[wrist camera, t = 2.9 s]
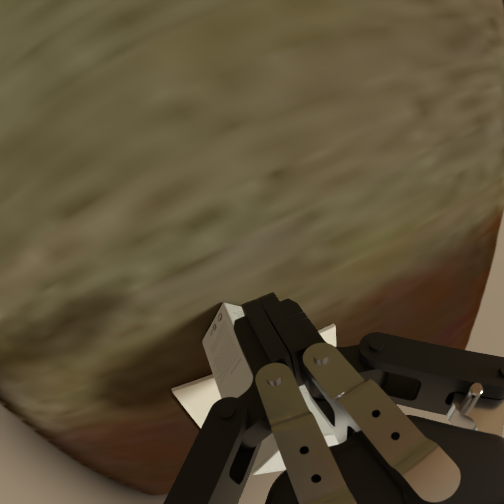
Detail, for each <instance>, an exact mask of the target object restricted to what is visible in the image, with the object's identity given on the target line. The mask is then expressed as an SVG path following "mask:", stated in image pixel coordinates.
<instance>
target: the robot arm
mask: <svg viewBox="0 0 504 504" xmlns="http://www.w3.org/2000/svg"><path fill="white" fill-rule="evenodd" d="M241 306H242V310H243V313H244V317H241V318H238V319H236V320H235V321H234V329H233V330H234V332H235V335H236V338H237V340H238V343H239V345H240V348H241V351H242V353H243V355H244V357H245V360H246V362H247V364H248V366H249V369H250V371H251V373H252V376H253V381H252V384H251V386H250V387H249V388H248V390H247V391H246V392H244V393H243V394H242V395H240V396H239V397H238V398H235V397H225V398H222V399H220V400H218V401H216V402H215V403H214V404H213V405H212V407H211V408H210V411H209V413H208V415H207V417H206V419H205V421H204V423H203V425H202V427H201V429H200V431H199V433H198V435H197V437H196V439H195V442H194V444H193V446H192V448H191V450H190V452H189V454H188V456H187V458H186V460H185V462H184V464H183V466H182V468H181V470H180V472H179V474H178V476H177V478H176V480H175V482H174V484H173V486H172V488H171V490H170V492H169V494H168V496H167V498H166V500H165V502H164V504H238V502H239V499H240V497H241V494H242V492H243V490H244V487H245V484H246V482H247V480H248V477H249V475H250V472H251V470H252V467H253V464H254V462H255V459H256V457H257V454H258V451H259V449H260V446H261V443H262V441H263V440H264V439H265V438H267V437H268V436H269V435H270V434H271V433H273V435H274V438H275V440H276V443H277V446H278V449H279V451H280V454H281V457H282V460H283V462H284V465H285V468H286V470H285V471H284V472H283V473H281V474H280V476H279V477H278V478H277V479H276V480H275V482H274V483H273V485H272V487H271V488H270V491H269V493H268V496H267V499H266V502H265V504H504V438H503V437H502V431H503V425H504V357H499V356H494V355H488V354H482V353H477V352H471V351H466V350H461V349H456V348H451V347H446V346H441V345H436V344H431V343H426V342H421V341H416V340H412V339H407V338H402V337H398V336H393V335H389V334H384V333H379V332H375V333H370V334H368V335H366V336H364V337H363V338H362V339H361V341H360V344H359V345H354V346H349V347H335V346H333V345H331V344H328V343H327V342H326V341H325V340H324V339H323V338H322V336H321V335H320V334H319V332H318V331H317V329H316V328H315V327H314V325H313V324H312V323H311V321H310V320H309V319H308V317H307V316H306V314H305V313H304V312H303V310H302V309H301V308H300V306H299V305H298V304H297V303H296V302H294V301H292V300H290V299H286V300H283V301H281V302H280V301H279V300H278V298H277V297H276V295H275V294H274V293H273V292H272V293H269V294H267V295H264V296H262V297H259V298H258V300H257V299H255V300H252V301H250V302H247V303H244V304H242V305H241ZM302 385H305V387H306V388H307V390H308V393H309V398H310V400H311V401H312V403H313V404H314V406H315V407H316V408H317V410H318V411H319V412H320V414H321V415H322V417H323V418H324V419H325V421H326V422H327V424H328V425H329V426H330V428H331V429H332V431H333V433H334V435H335V437H336V440H337V441H338V443H339V444H338V445H333V446H329V447H328V445H327V442H326V440H325V438H324V436H323V434H322V432H321V430H320V427H319V425H318V423H317V421H316V419H315V417H314V415H313V413H312V412H310V410H309V409H308V406H307V404H306V402H305V400H304V398H303V396H302V393H301V391H300V389H299V387H300V386H302ZM396 404H399V405H403V406H407V407H412V408H416V409H420V410H425V411H429V412H434V413H438V414H443V415H447V418H448V420H449V422H450V423H451V425H449V424H445V423H441V422H437V421H433V420H429V419H425V418H421V417H417V416H412V415H405V414H404V413H403V412H402V411H401V410H400V409H399V407H398V406H397V405H396Z"/></svg>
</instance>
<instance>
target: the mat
mask: <svg viewBox="0 0 504 504" xmlns="http://www.w3.org/2000/svg"><path fill="white" fill-rule="evenodd" d="M318 332H319V334H320V335H321V336H322V338H323V339H324V340H325V341H326V342H327V343H328V344H331V345H333V346H335V347H336V326H335V325H334V324H331V325H329V326H327V327H325V328H323V329H321V330H318ZM171 389H172V392H173V394H174V395H175V396H176V398H177V399H178V400H179V401H180V403H181V404H182V405H183V407H184V408H185V409H186V411H187V412H188V413H189V414H190V416H191V417H192V418H193V419H194V421H195V422H196V423H197V424H198V426H199V427H200V428H201V427H202V425H203V423H204V421H205V419H206V417H207V415H208V413H209V411H210V408H211V407H212V405H213V404H214V403H215V402H216V401H218V400H220V399H221V396H220V393H219V390H218V387H217V384H216V382H215V379H214V376H213V374H211V375H209V376H206V377H203V378H200V379H198V380H195V381H192V382H189V383H186V384H183V385H180V386H177V387H174V388H171Z"/></svg>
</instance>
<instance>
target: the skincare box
mask: <svg viewBox="0 0 504 504" xmlns="http://www.w3.org/2000/svg"><path fill="white" fill-rule="evenodd" d="M241 317H244V313H243V310H242V307H240V306H236V305H232V304H228V303H223V304H222V306H221V307H220V309H219V311H218V313H217V315H216V316H215V318H214V320H213V322H212V324H211V326H210V328H209V329H208V331H207V333H206V335H205V336H204V338H203V340H202V343H203V347H204V349H205V352H206V355H207V358H208V361H209V364H210V367H211V370H212V373H213V376H214V379H215V382H216V384H217V387H218V390H219V393H220V396H221V399H222V398H225V397H235V398H238V397H239V396H240V395H242V394H243V393H244V392H246V391H247V390H248V388H249V387H250V386H251V384H252V381H253V376H252V373H251V371H250V369H249V366H248V364H247V362H246V360H245V357H244V355H243V353H242V351H241V348H240V345H239V343H238V340H237V338H236V335H235V332H234V330H233V329H234V321H235V320H236V319H238V318H241ZM299 389H300V391H301V393H302V396H303V398H304V400H305V402H306V404H307V406H308V409H309V410H310V412H312V413H313V415H314V417H315V419H316V421H317V423H318V425H319V427H320V430H321V432H322V434H323V436H324V438H325V440H326V442H327V445H328V447H329V446H333V445H338V444H339V443H338V441H337V440H336V437H335V435H334V433H333V431H332V429H331V428H330V426H329V425H328V424H327V422H326V421H325V419H324V418H323V417H322V415H321V414H320V412H319V411H318V410H317V408H316V407H315V406H314V404H313V403H312V401H311V400H310V398H309V393H308V390H307V388H306V387H305V385H302V386H300V387H299ZM282 470H286V468H285V465H284V462H283V460H282V457H281V454H280V451H279V449H278V446H277V443H276V440H275V438H274V435H273V433H271V434H270V435H269V436H268V437H267V438H265V439H264V440H263V441H262V443H261V446H260V449H259V451H258V454H257V457H256V459H255V462H254V464H253V467H252V470H251V472H250V473H251V474H252V475H256V474H262V473H269V472H275V471H282Z"/></svg>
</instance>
